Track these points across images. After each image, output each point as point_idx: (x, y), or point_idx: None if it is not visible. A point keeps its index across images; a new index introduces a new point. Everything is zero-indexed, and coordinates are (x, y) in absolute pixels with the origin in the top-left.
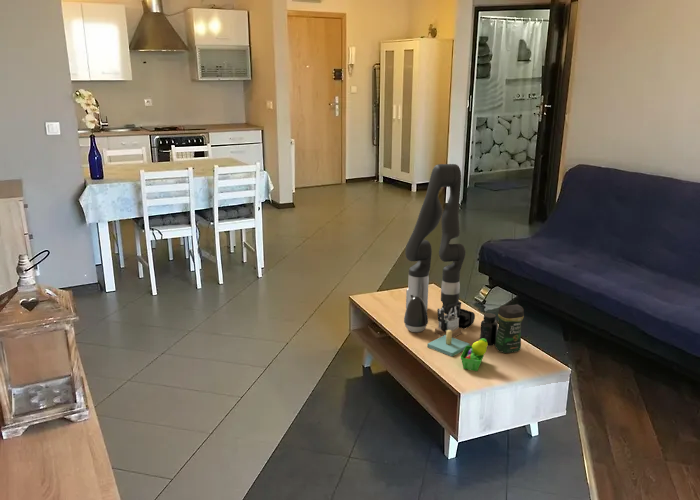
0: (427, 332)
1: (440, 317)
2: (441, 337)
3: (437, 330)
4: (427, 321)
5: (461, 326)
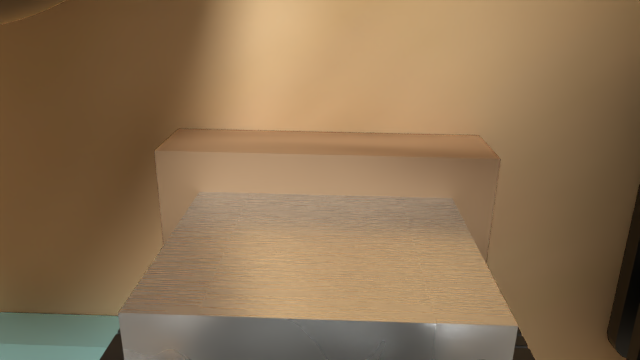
0: (110, 22)
1: (173, 327)
2: (36, 357)
3: (164, 196)
4: (6, 15)
5: (637, 303)
